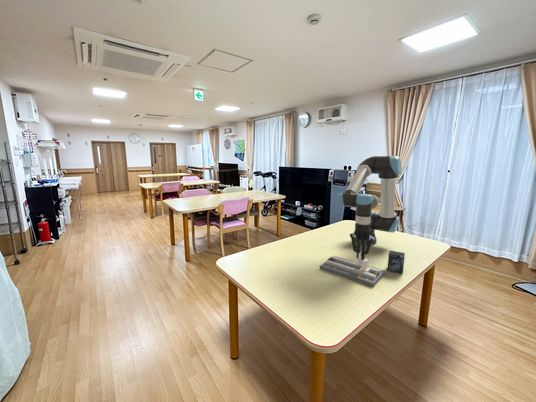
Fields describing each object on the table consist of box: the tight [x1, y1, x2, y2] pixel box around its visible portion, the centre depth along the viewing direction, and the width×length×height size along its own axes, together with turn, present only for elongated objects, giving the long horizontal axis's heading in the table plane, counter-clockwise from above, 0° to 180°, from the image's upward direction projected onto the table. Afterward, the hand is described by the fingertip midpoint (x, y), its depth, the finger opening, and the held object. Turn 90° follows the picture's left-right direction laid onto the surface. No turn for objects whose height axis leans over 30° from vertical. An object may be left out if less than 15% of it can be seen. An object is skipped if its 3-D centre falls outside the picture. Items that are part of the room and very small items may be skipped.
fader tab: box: [360, 258, 370, 272], centre depth 129 cm, size 4×4×7 cm
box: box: [386, 250, 406, 275], centre depth 134 cm, size 8×6×11 cm
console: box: [319, 255, 386, 288], centre depth 134 cm, size 18×30×4 cm, turn 48°
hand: (360, 264), depth 130 cm, fingers closed
